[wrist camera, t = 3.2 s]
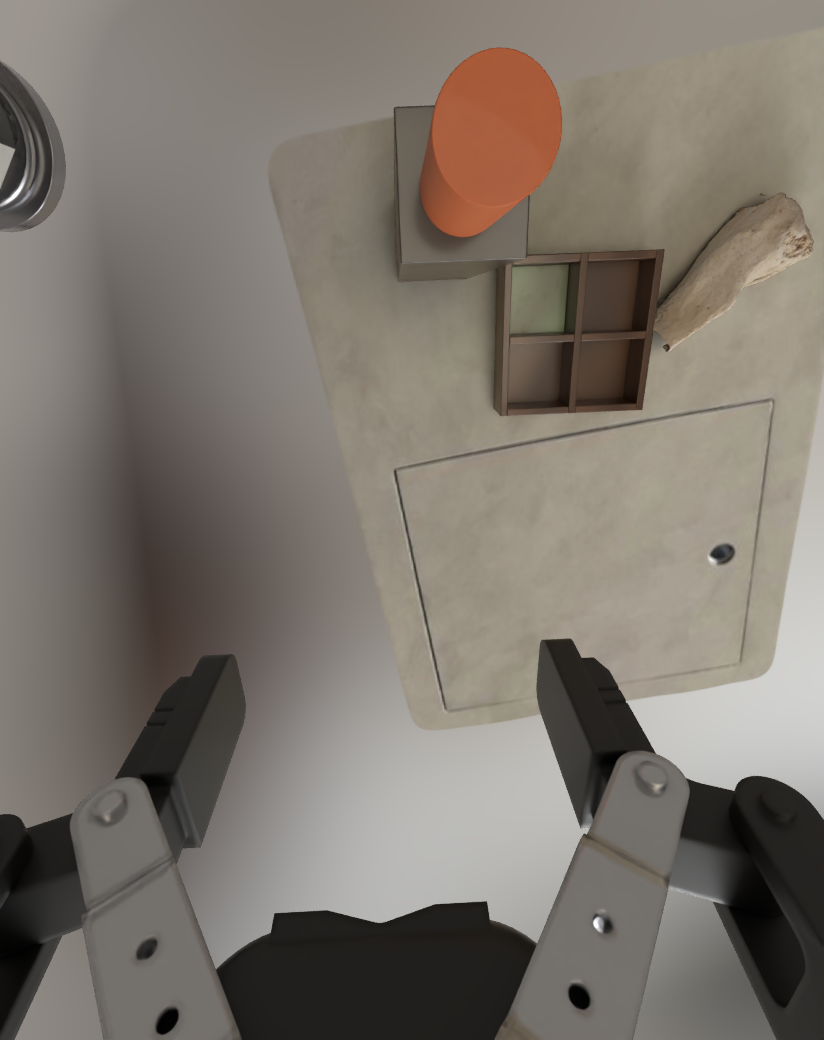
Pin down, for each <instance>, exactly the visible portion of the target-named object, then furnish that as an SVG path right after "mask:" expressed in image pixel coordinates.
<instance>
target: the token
mask: <svg viewBox="0 0 824 1040" xmlns="http://www.w3.org/2000/svg"><path fill="white" fill-rule="evenodd" d="M561 132H562V115H561V107H560V102H559V98H558V95H557V92H556V89H555V87H554V85H553V83H552V80H551V79H550V77H549V76H548V74H547V73H546V71H545V70H544V69H543V68H542V67H541V65H540V64H539V63H537V62H536V61H535V60H534V59H533V58H531V57H530V56H528V55H526V54H525V53H522V52H520V51H517V50H514V49H509V48H491V49H487V50H483V51H480V52H478V53H476V54H474V55H472V56H470V57H469V58H467V59H466V60H464V61H463V62H462V63H461V64H460V65H459V66H457V67H456V69H455V70H454V71H453V72H452V73H451V74H450V76H449V77H448V79H447V80H446V82H445V83H444V85H443V87H442V89H441V91H440V93H439V96H438V98H437V101H436V104H435V107H434V111H433V116H432V121H431V126H430V131H429V136H428V141H427V146H426V151H425V156H424V161H423V166H422V171H421V176H420V196H421V201H422V205H423V208H424V210H425V212H426V214H427V216H428V217H429V219H430V220H431V221H432V223H433V224H434V225H435V226H436V227H437V228H438V229H440V230H441V231H443V232H445V233H447V234H449V235H452V236H456V237H470V236H473V235H476V234H479V233H481V232H483V231H484V230H486V229H487V228H488V227H490V226H491V225H492V224H493V223H495V222H496V221H497V220H498V219H500V218H501V217H502V216H503V215H505V214H506V213H507V212H508V211H510V210H511V209H512V208H513V207H514V206H516V205H517V204H518V203H519V202H521V201H522V200H523V199H524V198H526V197H527V196H528V195H529V194H531V193H532V192H533V191H534V190H535V189H536V188H537V187H538V186H539V185H540V184H541V183H542V181H543V180H544V179H545V177H546V176H547V174H548V172H549V171H550V169H551V167H552V165H553V163H554V161H555V158H556V155H557V152H558V149H559V144H560V140H561Z"/></svg>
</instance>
